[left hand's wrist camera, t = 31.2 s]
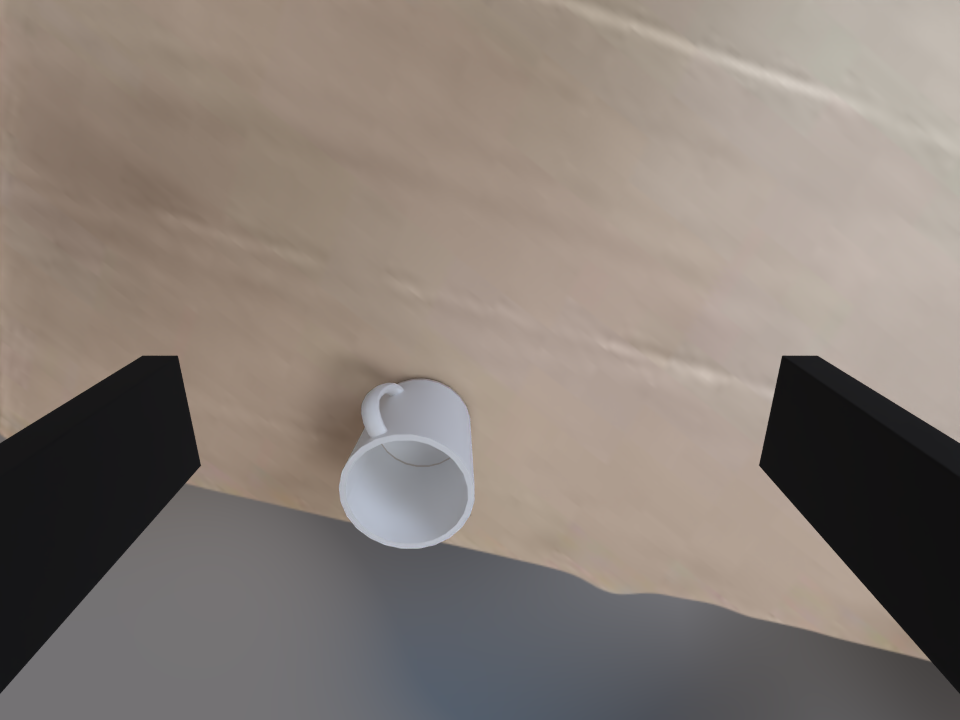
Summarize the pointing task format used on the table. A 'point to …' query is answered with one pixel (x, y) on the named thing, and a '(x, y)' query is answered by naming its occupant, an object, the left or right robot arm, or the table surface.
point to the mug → (410, 465)
